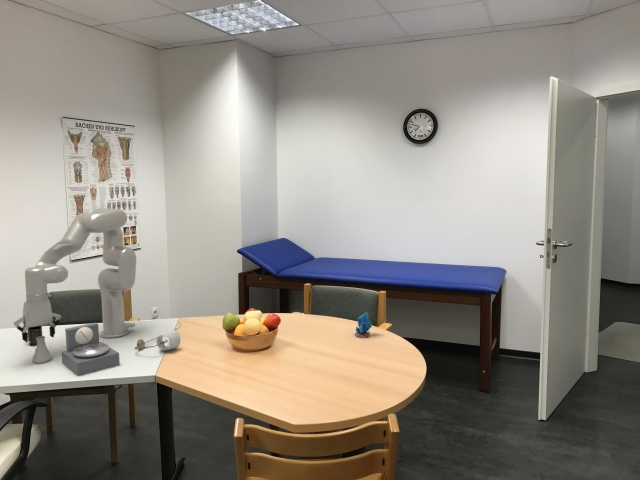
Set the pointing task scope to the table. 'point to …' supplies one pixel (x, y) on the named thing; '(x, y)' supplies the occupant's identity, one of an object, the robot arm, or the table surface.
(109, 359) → the scale
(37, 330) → the supplement container
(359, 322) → the gemstone
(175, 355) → the table surface
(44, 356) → the flask
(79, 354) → the pan
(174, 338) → the light fixture
